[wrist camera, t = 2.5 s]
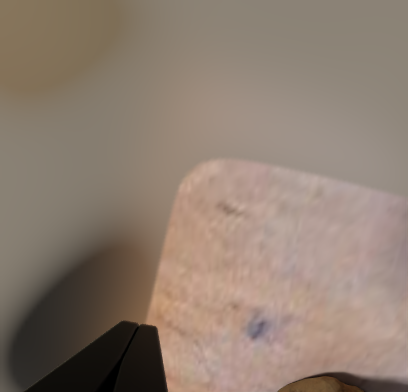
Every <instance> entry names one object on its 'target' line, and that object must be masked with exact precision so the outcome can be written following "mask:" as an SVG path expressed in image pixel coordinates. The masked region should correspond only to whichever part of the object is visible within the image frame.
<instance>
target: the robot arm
mask: <svg viewBox="0 0 408 392" xmlns="http://www.w3.org/2000/svg"><path fill="white" fill-rule="evenodd" d="M23 392H168V389H167V383H166V377H165V371H164V365H163V359H162V353H161V347H160V341H159V335H158V329H157V327H156V326H152V325H146V324H141V325H140V326H139V324H138V323H136V322H130V321H121V322H119V323H118V324H117V325H115V326H114V327H112V328H111V329H110V330H108V331H107V332H105V333H104V334H103V335H101V336H100V337H98V338H97V339H96V340H94V341H93V342H92V343H90V344H89V345H87V346H86V347H85V348H83V349H82V350H81V351H79V352H78V353H76V354H75V355H73V356H72V357H71V358H69V359H68V360H66V361H65V362H64V363H62V364H61V365H60V366H58V367H57V368H55V369H54V370H53V371H52V372H50V373H48V374H47V375H46V376H44V377H43V378H42V379H40V380H39V381H37V382H36V383H34V384H33V385H32V386H30V387H29V388H28V389H26V390H25V391H23Z"/></svg>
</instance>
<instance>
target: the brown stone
mask: <svg viewBox="0 0 408 392" xmlns="http://www.w3.org/2000/svg"><path fill="white" fill-rule="evenodd" d="M278 392H365V391H363V390H361V389H360V388H358V387H356V386H350V385H346V384H344V383H342V382H340V381H339V380H337V379H336V378H334V377H328V376H321V377H318V378H309V379H303V380H300V381H298V382H295V383H291V384H288V385H286V386H285V387H283V388H281V389H280V390H279V391H278Z"/></svg>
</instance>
